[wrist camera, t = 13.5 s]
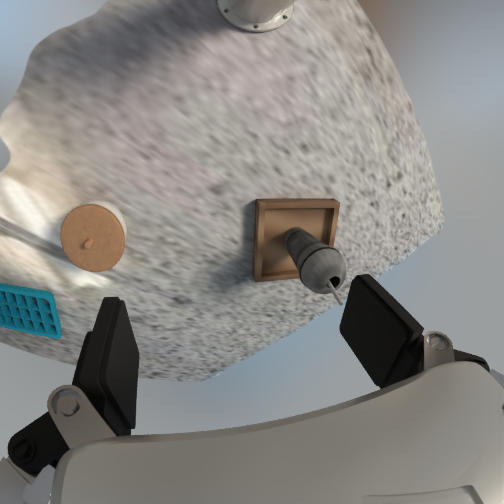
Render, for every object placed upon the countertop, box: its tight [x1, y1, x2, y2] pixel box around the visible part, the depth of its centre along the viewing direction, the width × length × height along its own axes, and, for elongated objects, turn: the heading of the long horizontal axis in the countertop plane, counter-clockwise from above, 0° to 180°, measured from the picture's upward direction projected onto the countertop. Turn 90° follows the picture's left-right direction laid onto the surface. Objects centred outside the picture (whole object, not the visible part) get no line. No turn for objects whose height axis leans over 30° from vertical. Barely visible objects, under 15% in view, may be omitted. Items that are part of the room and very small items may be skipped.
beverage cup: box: [284, 227, 346, 305], centre depth 42 cm, size 7×7×20 cm
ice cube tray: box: [0, 283, 62, 339], centre depth 43 cm, size 12×20×3 cm, turn 78°
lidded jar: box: [61, 200, 127, 272], centre depth 38 cm, size 11×11×9 cm
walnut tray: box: [253, 199, 340, 282], centre depth 51 cm, size 15×15×2 cm
